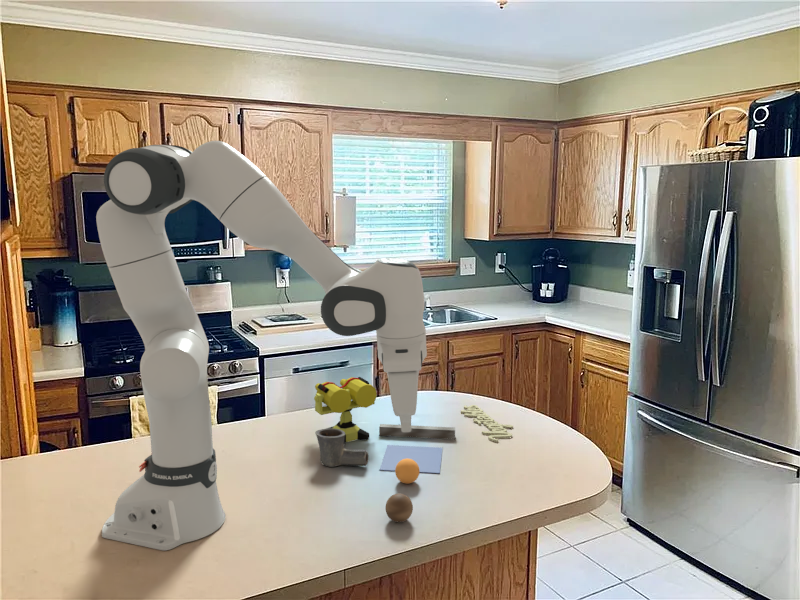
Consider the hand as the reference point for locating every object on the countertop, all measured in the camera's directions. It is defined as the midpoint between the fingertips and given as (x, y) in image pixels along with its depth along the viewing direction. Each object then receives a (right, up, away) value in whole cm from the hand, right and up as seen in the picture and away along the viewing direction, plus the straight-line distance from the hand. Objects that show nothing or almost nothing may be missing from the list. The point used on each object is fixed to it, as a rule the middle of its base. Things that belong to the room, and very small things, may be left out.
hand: (406, 420), depth 112 cm
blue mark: (+2, -17, +36) cm, 39 cm away
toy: (-17, -14, +50) cm, 55 cm away
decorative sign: (+24, -13, +59) cm, 65 cm away
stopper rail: (+3, -14, +49) cm, 51 cm away
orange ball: (0, -16, +23) cm, 28 cm away
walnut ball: (-1, -19, +8) cm, 20 cm away
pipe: (-15, -17, +32) cm, 40 cm away
